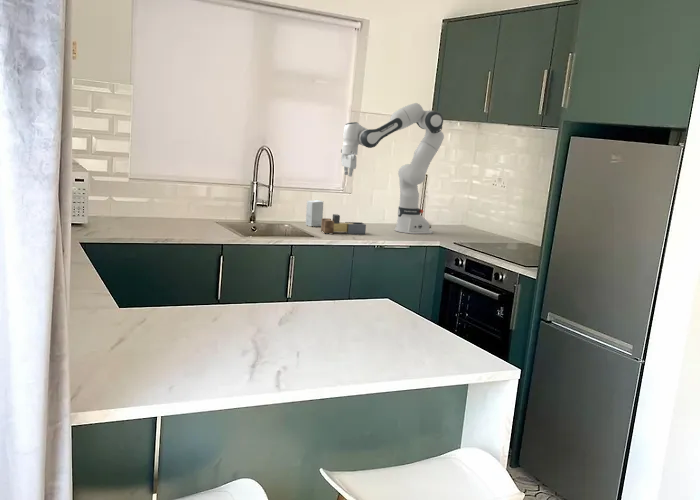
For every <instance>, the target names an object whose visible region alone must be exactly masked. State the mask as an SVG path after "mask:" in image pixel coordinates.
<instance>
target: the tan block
mask: <svg viewBox="0 0 700 500" xmlns="http://www.w3.org/2000/svg"><path fill="white" fill-rule="evenodd" d="M340 219H341V215H340V214H338V213H335V214H334V213H333V214H332V218H331V220H332V221H334V231H333V233H334V232H336V233H337V232H338V233H340V232H341V233H346V232H348V224H353V223H345V222H341V221H340Z"/></svg>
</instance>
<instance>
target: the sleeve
mask: <svg viewBox="0 0 700 500" xmlns="http://www.w3.org/2000/svg"><path fill="white" fill-rule="evenodd" d="M344 223H353V224H348V232H345V233H346V234H347V235H357V234H359V235H360V236H361V235H363V236H364V235H366V232H367V230H366V228H367V224H365V223H363V222H355V221H352V222H351V221H345V222H344ZM359 235H358V236H359Z"/></svg>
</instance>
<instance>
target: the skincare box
mask: <svg viewBox="0 0 700 500" xmlns="http://www.w3.org/2000/svg"><path fill="white" fill-rule="evenodd" d="M305 212H306V214H305V226H307V225H308V227H310V226H315V227H321V223H322V218H324V217H323V216H324V215H323V214H324V201H322V200H319V199H315V200H306V211H305Z"/></svg>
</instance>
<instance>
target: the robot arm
mask: <svg viewBox="0 0 700 500" xmlns="http://www.w3.org/2000/svg"><path fill="white" fill-rule="evenodd" d="M414 124H417V126H418V127H419V128H420V129H422V130H425V134H424V136H423V138H422V140H421V141H420V143H419V144H418V145H417V147H416V149H415V151H414V153H413V157H412V159H411V161H410V164H409V163H407V164H404V165H402V166H401V167H400V168H398V170H397V171H398V173H397V174H398V178H399V182H398V183H399V192H400V193H399V206H398V207H397V208H398V209H397V220H396V221H397V222H396V225H395V227H394V231H396V232H400V233H406V234H409V235H410V234H411V235H412V234H414V235H415V234H417V235H420V234H422V235H423V234H425V235H426V234H431V235H432V234H433V230H432V229H430V223H429V221H428V220H427V219H426V218H425V217H424V216H423V215H422V214H423V213H424V212H425V211H424V210H423V209H422V208H421V209H420V208H419V201H420V193H419V189H418V188H419V187H418V185H421V184H422V183H423V182H424V181H425V178H426V174H427V171H428V169H429V167H430V164H431V162H432V161H433V159H434V157H435V156H436V153H437V152H439V149H440V147H442V144H443V141H444V139H445V135H444V132H443V131H442V130H443V124H444V117H443V115H442V114H441V112H439V111H437V110H424V108H423V106H422V105H421V104H420V103H417V102H415V103H411V104H408V105H405V106H403V107H401V108H399V109H398V110H395V112H393V113H392V114H391V115H390V119H389V121H387V122H386V123H384V124H383V125H381V126H379V127H377V128H374V129H373V128H371V129H368V128H366V127H364V126H362V125H361V124H360V123H359V122H357V121H354V122H347V123H345V125H344V127H343V134H342V139H343V142H342V145H341V146H342V147H341V149H340V153H341V158H340V159H341V166H342V167H343V170H344V171H343V173H344V175H345V176H348V177H352V176H353V172H354V170H356V168H357V155H358V153H359V152H358V151H359V150H358V149H359V145H361V146H363V147H365V148H368V149H371V148H375V147H377V145H379V143H380V142H381V141H382V140H383V139H384V138H386V137H388V136H389V135H391V134H393V133H395V132H397V131H401V130H403V129H406V128H408V127H410V126H411V125H414Z"/></svg>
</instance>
